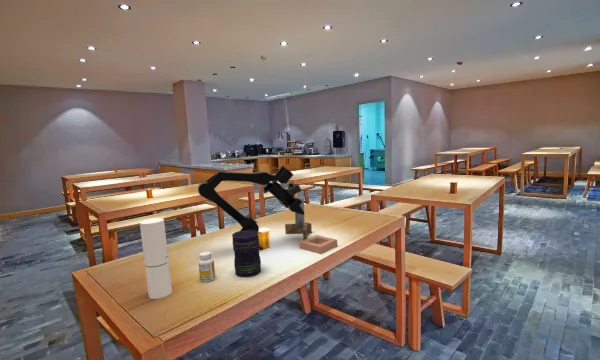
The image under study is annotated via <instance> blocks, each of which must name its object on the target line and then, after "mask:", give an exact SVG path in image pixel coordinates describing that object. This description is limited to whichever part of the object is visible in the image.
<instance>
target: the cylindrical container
mask: <svg viewBox="0 0 600 360" xmlns="http://www.w3.org/2000/svg"><path fill="white" fill-rule="evenodd" d="M139 227H140V228H139V229H140V236H141V237H140V238H141V245H142V252H143V260H144V261H143V262H144V270H145V276H146V278H145V279H146V285H147V294H148V298H149V299H150V300H151V299H152V300H158V299H163V298H167V297H168V296H170V295H171V294H172V293H173V290H172V289H173V287H172V281H171V270H170V262H169V251H168V245H167V244H168V243H167V234H166V228H165V227H166V225H165V219H164V217H163V218H162V217H155V218H154V217H153V218H152V217H151V218H148V219H143V220H141V221H140V222H139Z"/></svg>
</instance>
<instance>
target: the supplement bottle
mask: <svg viewBox="0 0 600 360" xmlns="http://www.w3.org/2000/svg"><path fill="white" fill-rule="evenodd" d="M214 261H215V260H214V258H213V257H212V251H202V252H200V253H199V260H198V262H197V265H198V273H199V280H200V282H204V283H207V282H211V281H213V280H215V278H216V270H215V262H214Z"/></svg>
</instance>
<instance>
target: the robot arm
mask: <svg viewBox="0 0 600 360" xmlns="http://www.w3.org/2000/svg"><path fill="white" fill-rule="evenodd" d="M293 176H294V174H293V172H292V171H291V170H290V169H288V168H286V167H285V166H283V165H281V166H280V167H279V169H278V170H277V171H276V172H275V173H274V174H273V173H269V172H266V171H263V170H261V171H260V170H259V171H252V172H237V171H236V172H235V171H223V170H218V171H216V172H215V174H214V175H212V176H210V177H209V178H208V179H207V180H205V181H203V182H202V181H201V182H200V183H199V184H198V187H197V192H198V194H199V196H201V197H203V198H204V199H206V200H208V201H210V202H212V203H213V204H215V205H217V206H218V207H219V208H220V209H222V210H223V211H224V212H225V213H226V214H227V215H229V216H230V217H231V218H233V219H234V220H235V221H237V223H238V224H239V225H240V226H241V229H240V230H239V231H242V230H255V231H258V232H259V229H260V226H259V225H258V221H257V220H256V219H255V218H253V217H252V216H250V213H249V214H248V213H247V215H244V214H243V213H242V212H240V211H239V210H238V209H237V208H235V207H234V206H233V205H232V204H230V203H229V202H228V201H227V200H226V199H225V198H223V197H222V196H221V195H220V194H219V193H218V192H217V191H216V188H217V187H218V186H219V185H220V184H221V183H222V182H223V181H228V182H245V183H246V182H248V183H253V184H256V185H262V186H263V187H262V192H263V193H264V194H267V193H268V192H269V194H271V196H273V197H274V198H275V199H276V200H278V203H279V204H280V205H281V206H282V207H283V206H284V207H285V208H286V209H288V210H289V211H291V212H292V213H295V212H296V213H299V214H302V215H304V216H305V210H304V211H303V210H302V208H301V207H300V204H301V203H302V201H301V200H300V199H301V198H298V197H295V195H296V194H299V193H300V192H302V188H301V186H300V184H298V183H292V182H291V183H288V182H289V181H290V180H291V178H293ZM286 184H288V185H287V188H285V187H284V186H282V185H286Z"/></svg>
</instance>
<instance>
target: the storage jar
mask: <svg viewBox="0 0 600 360" xmlns="http://www.w3.org/2000/svg"><path fill="white" fill-rule="evenodd" d="M231 234H232V235H231V238H232V249H233V253H234V254H233V256H234V258H233V261H234V264H233V265H234V271H235V274H234V275H235V276H236V275H237V276H236V277H238V278H243V277H244V278H245V277H246V278H252V277H256V276H257V275H259V274H260V273H261V272H262V268H261V266H262V262H261V256H260V237H259V230H258V231H255V230H242V231H240V230H239V231H235V232H234V233H231ZM246 278H245V279H246Z"/></svg>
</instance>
